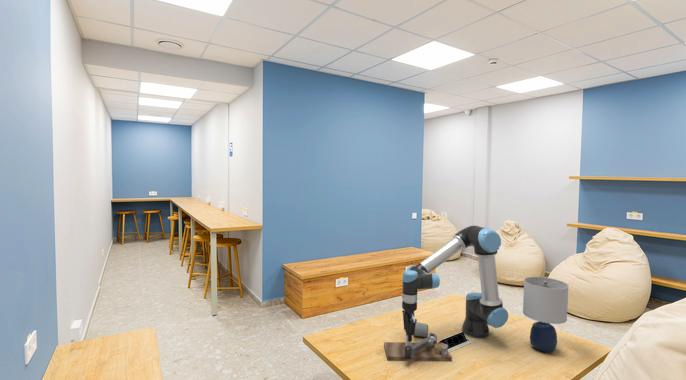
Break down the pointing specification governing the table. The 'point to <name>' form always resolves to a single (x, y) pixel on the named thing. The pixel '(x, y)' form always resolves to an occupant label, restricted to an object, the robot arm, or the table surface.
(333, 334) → the table surface
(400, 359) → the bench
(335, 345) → the table surface
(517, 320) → the table surface
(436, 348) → the tan wooden cylinder
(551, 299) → the lamp
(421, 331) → the ceramic mug
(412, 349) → the lever
